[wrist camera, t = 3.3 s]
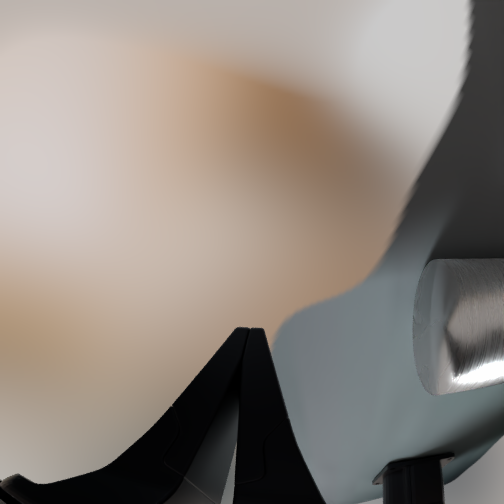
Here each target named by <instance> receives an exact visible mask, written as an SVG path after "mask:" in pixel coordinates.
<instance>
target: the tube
mask: <svg viewBox="0 0 504 504" xmlns="http://www.w3.org/2000/svg"><path fill="white" fill-rule="evenodd" d="M413 349H414V358H415V364H416V369H417V373H418V376H419V379H420V381H421V383H422V385H423V387H424V389H425V390H426V391H427V392H428V393H429V394H431V395H442V394H449V393H455V392H461V391H467V390H472V389H478V388H483V387H488V386H492V385H497V384H501V383H504V258H488V259H435V260H432V261H430V262H429V263H428V264H427V266H426V267H425V268H424V270H423V272H422V274H421V277H420V280H419V283H418V287H417V291H416V296H415V303H414V312H413Z"/></svg>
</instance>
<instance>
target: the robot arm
mask: <svg viewBox="0 0 504 504" xmlns="http://www.w3.org/2000/svg"><path fill="white" fill-rule="evenodd" d="M236 442H237V450H236V466H235V487H234V498H233V504H326V502H325V501H324V499H323V497H322V495H321V493H320V491H319V489H318V487H317V485H316V483H315V481H314V479H313V477H312V475H311V473H310V471H309V469H308V467H307V465H306V463H305V461H304V458H303V456H302V454H301V451H300V449H299V447H298V444H297V442H296V439H295V436H294V433H293V430H292V426H291V423H290V419H289V416H288V413H287V409H286V406H285V402H284V399H283V395H282V392H281V388H280V384H279V381H278V377H277V374H276V370H275V367H274V363H273V360H272V356H271V352H270V349H269V345H268V342H267V338H266V335H265V331H264V329H263V328H251V329H250V328H248V327H237V328H236V329H235V330H234V331H233V332H232V333H231V335H230V336H229V337H228V338H227V340H226V341H225V342H224V343H223V345H222V346H221V347H220V348H219V349H218V351H217V352H216V353H215V354H214V355H213V357H212V358H211V359H210V360H209V361H208V363H207V364H206V365H205V366H204V368H203V369H202V370H201V371H200V372H199V374H198V375H197V376H196V377H195V378H194V380H193V381H192V382H191V383H190V384H189V385H188V387H187V388H186V389H185V390H184V391H183V393H182V394H181V395H180V396H179V397H178V398H177V399H176V401H175V402H174V403H173V404H172V406H171V407H169V409H168V410H167V411H166V412H165V413H164V415H163V416H162V417H161V418H160V419H159V420H158V421H157V422H156V423H155V424H154V425H153V426H152V427H151V428H150V429H149V430H148V431H147V432H146V433H145V434H144V435H143V436H142V437H141V438H139V439H138V440H137V441H136V442H135V443H134V444H133V445H132V446H130V447H129V448H128V449H127V450H126V451H125V452H123V453H122V454H121V455H120V456H119V457H118V458H117V459H115V460H114V461H113V462H112V463H110V464H108V465H107V466H105V467H103V468H101V469H99V470H96V471H93V472H90V473H86V474H83V475H79V476H76V477H72V478H69V479H65V480H61V481H57V482H53V483H48V484H37V483H34V482H32V481H31V480H29V479H27V478H25V477H24V476H22V475H20V474H15V475H12V476H10V477H7V478H6V479H4V480H3V481H2V480H0V504H220V503H221V500H222V496H223V492H224V488H225V485H226V481H227V477H228V473H229V469H230V466H231V461H232V458H233V454H234V449H235V446H236ZM454 458H455V454H454V453H451V454H446V455H441V456H436V457H431V458H425V459H419V460H413V461H406V462H399V463H392V464H389V465H387V466H386V467H385V468H384V469H383V470H382V471H381V472H380V473H379V474H378V475H377V477H376V478H375V479H374V480H373V481H372V485H379V484H383V504H445V497H444V485H443V475H442V468H443V467H444V466H445V465H446V464H448V463H449V462H450V461H451V460H453V459H454Z"/></svg>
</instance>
